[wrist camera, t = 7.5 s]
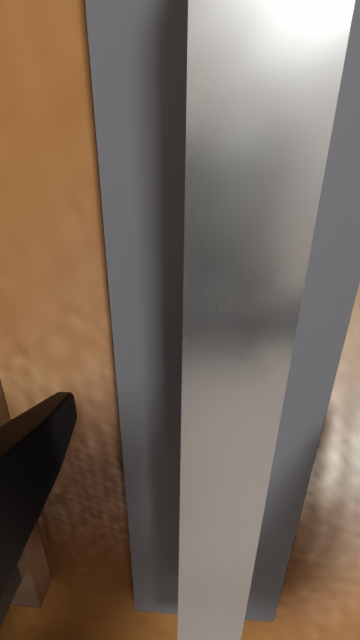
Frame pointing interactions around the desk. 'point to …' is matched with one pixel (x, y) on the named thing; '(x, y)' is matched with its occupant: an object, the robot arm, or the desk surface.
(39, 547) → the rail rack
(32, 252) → the desk surface
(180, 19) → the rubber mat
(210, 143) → the steel rail
